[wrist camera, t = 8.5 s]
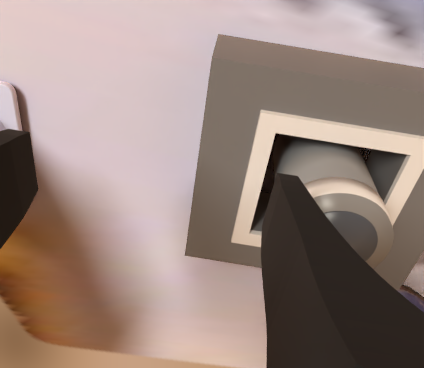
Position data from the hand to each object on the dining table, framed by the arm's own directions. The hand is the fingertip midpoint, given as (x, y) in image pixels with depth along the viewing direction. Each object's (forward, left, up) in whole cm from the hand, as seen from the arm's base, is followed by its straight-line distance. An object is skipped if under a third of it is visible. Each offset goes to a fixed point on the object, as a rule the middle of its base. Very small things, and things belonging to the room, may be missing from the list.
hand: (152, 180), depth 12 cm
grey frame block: (+7, -4, -9) cm, 12 cm away
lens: (+7, -3, -9) cm, 12 cm away
